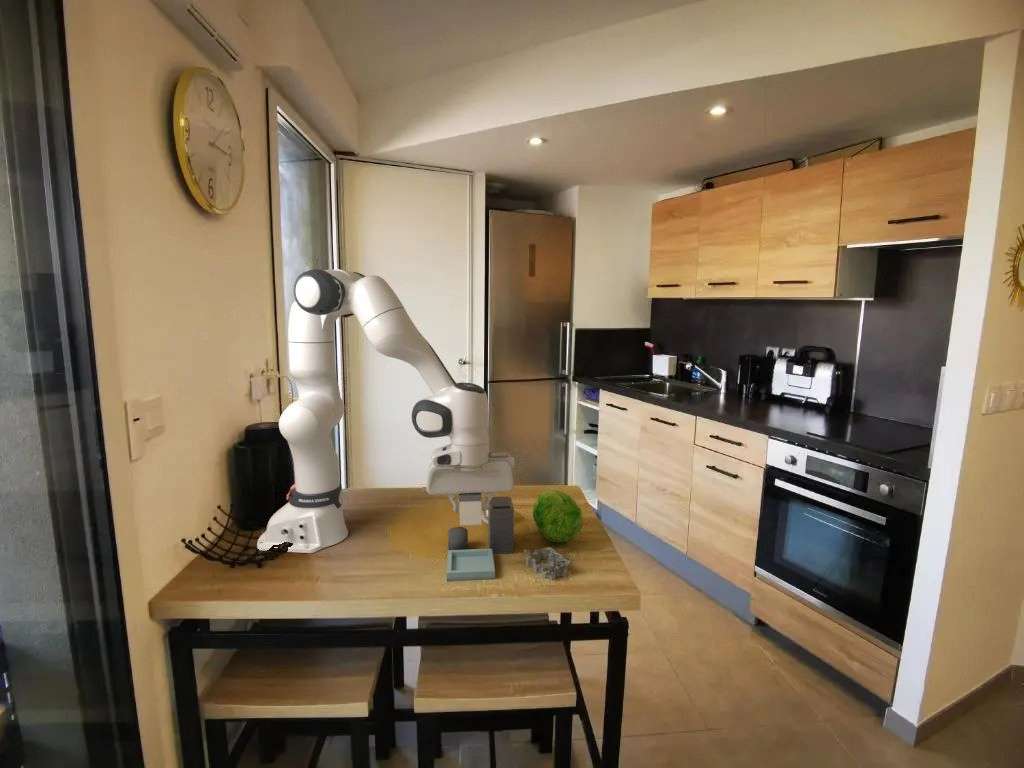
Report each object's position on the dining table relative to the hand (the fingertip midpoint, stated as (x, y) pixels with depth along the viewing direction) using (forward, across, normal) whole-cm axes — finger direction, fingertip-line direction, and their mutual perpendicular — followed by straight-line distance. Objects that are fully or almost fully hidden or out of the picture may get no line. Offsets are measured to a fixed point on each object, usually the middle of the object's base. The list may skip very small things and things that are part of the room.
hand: (470, 510), depth 122 cm
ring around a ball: (+15, -7, -23) cm, 28 cm away
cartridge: (+3, 0, 0) cm, 3 cm away
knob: (+15, +3, -10) cm, 18 cm away
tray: (+15, 0, 0) cm, 15 cm away
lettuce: (+15, -23, -16) cm, 32 cm away
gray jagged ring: (+15, -18, +2) cm, 24 cm away
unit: (+15, -8, -10) cm, 20 cm away
